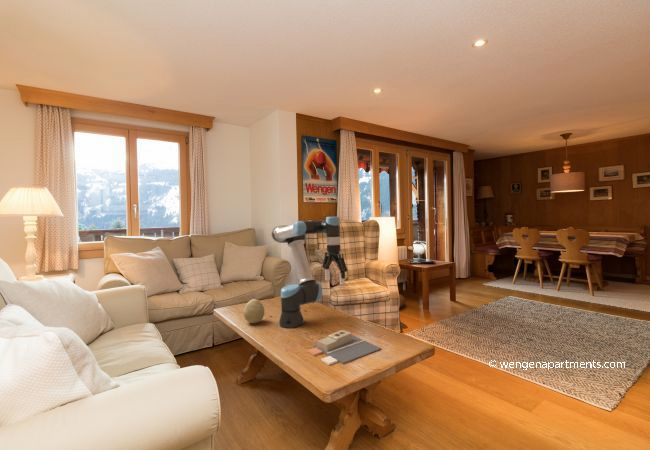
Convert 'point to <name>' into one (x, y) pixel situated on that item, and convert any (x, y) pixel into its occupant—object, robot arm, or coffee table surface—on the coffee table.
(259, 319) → the fossilized egg
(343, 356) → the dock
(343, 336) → the electrical outlet
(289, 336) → the coffee table surface
